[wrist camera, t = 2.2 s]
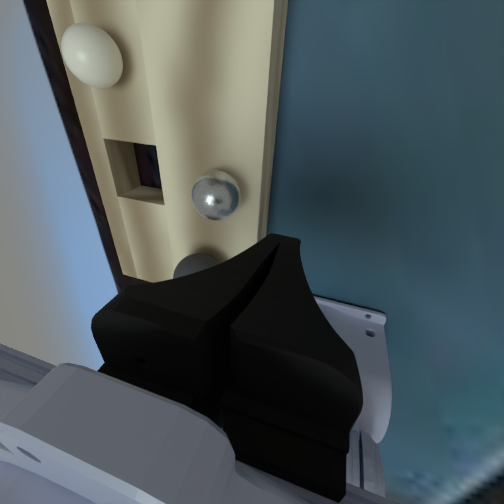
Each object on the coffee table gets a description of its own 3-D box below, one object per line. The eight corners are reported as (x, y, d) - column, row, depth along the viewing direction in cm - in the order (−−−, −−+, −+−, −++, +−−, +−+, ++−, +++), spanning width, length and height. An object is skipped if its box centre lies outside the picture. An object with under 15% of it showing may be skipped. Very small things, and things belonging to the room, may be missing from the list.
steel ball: (248, 168, 17) (230, 182, 14) (246, 213, 19) (230, 233, 16) (203, 161, 18) (178, 174, 15) (206, 205, 19) (184, 223, 17)
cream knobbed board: (290, -21, 14) (277, -44, 12) (261, 289, 26) (251, 309, 24) (81, -15, 17) (37, -31, 15) (141, 258, 29) (123, 274, 27)
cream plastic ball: (128, 28, 15) (85, 17, 12) (138, 89, 17) (101, 90, 14) (86, 27, 16) (37, 16, 13) (99, 86, 17) (58, 86, 15)
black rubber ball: (232, 249, 21) (210, 279, 18) (231, 287, 23) (212, 320, 20) (187, 239, 22) (158, 266, 18) (191, 277, 24) (166, 306, 21)
